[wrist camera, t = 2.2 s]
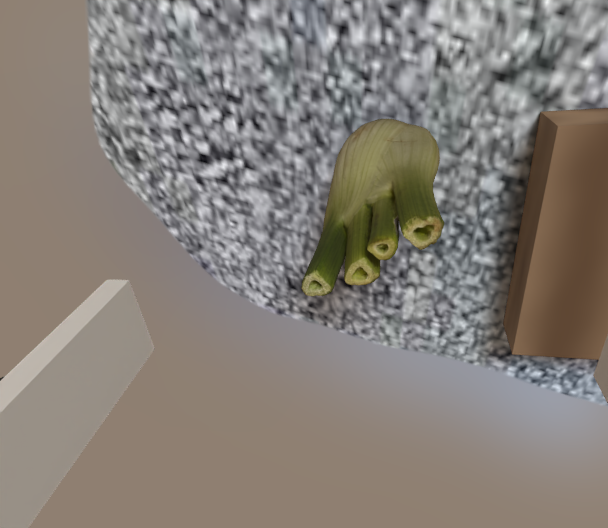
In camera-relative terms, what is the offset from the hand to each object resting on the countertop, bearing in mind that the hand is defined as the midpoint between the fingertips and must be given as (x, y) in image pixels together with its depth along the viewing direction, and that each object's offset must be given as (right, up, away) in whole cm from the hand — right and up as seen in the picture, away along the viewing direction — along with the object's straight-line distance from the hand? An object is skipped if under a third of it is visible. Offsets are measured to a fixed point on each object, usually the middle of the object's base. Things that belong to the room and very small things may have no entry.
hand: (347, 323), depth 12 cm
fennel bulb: (+3, +8, +13) cm, 16 cm away
